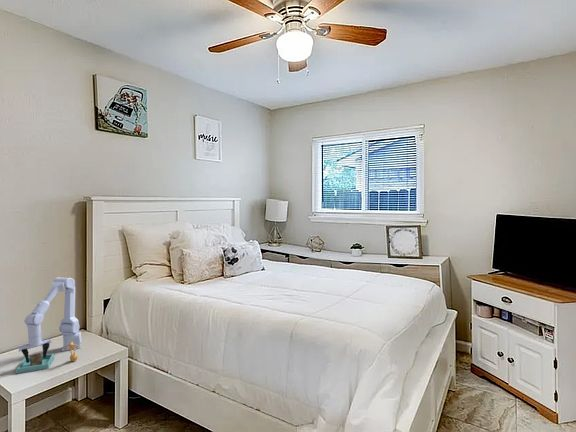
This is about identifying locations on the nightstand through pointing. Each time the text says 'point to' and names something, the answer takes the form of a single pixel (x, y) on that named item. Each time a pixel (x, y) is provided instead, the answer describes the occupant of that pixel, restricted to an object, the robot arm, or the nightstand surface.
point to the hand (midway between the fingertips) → (36, 359)
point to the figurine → (73, 356)
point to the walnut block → (36, 359)
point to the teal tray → (28, 368)
